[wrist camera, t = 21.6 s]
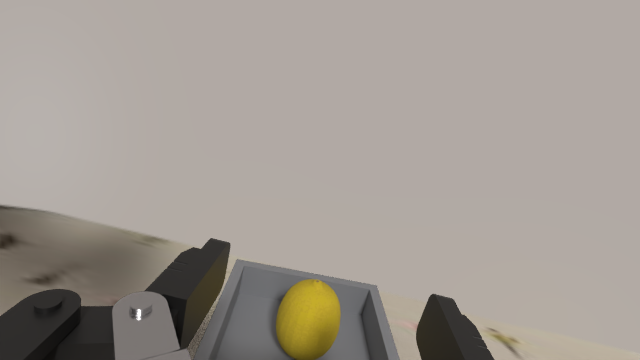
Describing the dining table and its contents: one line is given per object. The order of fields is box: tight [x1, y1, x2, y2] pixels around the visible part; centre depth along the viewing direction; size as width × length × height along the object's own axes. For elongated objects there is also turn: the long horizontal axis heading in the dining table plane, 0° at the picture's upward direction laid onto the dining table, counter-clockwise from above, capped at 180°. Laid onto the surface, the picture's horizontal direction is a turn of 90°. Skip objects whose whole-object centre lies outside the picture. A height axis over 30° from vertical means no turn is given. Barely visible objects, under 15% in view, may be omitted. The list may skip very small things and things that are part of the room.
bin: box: [193, 259, 400, 360], centre depth 29 cm, size 16×16×4 cm
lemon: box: [276, 279, 341, 360], centre depth 28 cm, size 6×6×8 cm
